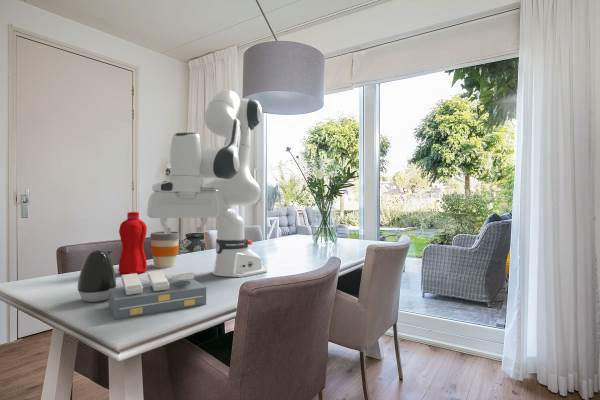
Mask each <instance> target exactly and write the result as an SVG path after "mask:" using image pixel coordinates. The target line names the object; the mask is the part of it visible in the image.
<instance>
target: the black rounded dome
mask: <svg viewBox="0 0 600 400" xmlns="http://www.w3.org/2000/svg"><path fill="white" fill-rule="evenodd" d="M111 254H112V250H111V249H109V250H107V251H104V250H103V249H95V250H93V251H91V252H89V253H88V254H87V256H86V257H85V259H84V262H83V263H82V266H81V268H80V269H81V270H80V273H79V277H78V283H77V292H78V293H79V296H80V298H81V299H82V300H84V301H86V302H88V303H98V302H99V303H100V302H103V301H106V300H109V289H112V288H117V279H116V273H115V272H116V271H115V268H114V264H113V262H112V260H111V258H110V256H109V255H111Z"/></svg>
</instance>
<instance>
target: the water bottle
mask: <svg viewBox="0 0 600 400" xmlns="http://www.w3.org/2000/svg"><path fill="white" fill-rule="evenodd" d="M126 217H127V218H126V219H125V220H124V221H122V222H121V223H120V226H119V230H118V233H119V237H120V242H121V247H122V248H121V253H120V256H119V257H120V258H119V261H118V272H119V274H121V275H126V274H135V273H137V274H143V273H145V272H147V267H148V266H147V265H148V264H147V258H146V253H145V248H144V247H145V246H144V245H145V241H146V237H147V233H148V231H147V230H148V229H147V225H146V223H145V222H144V221H143V220H141V219H140V212H138V211H130V212H127V215H126Z"/></svg>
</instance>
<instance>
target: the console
mask: <svg viewBox="0 0 600 400" xmlns="http://www.w3.org/2000/svg"><path fill="white" fill-rule="evenodd" d="M168 282H169V284H170V286H169V289H167V290H159V291H154V289H153V287H152V285H151V283H146V284H145V283H144V284H142V286H143V293H137V294H130V295H126V292H125V289H124V286H122V287H121V286H120V287H115V288H112V289H109V298H108V308H109V309H110V312H111V314H112V316H113V318H114V320H115V319H116V320H121V319H126V318H132V317H137V316H144V315H149V314H150V315H151V314H157V313H162V312H169V311H175V310H180V309H185V308H191V307H197V306H202V305H207V287H206V286H205V285H204V284H202V283H200V282H199V281H197V280H195V278H193V279H188V280H182V281H174V282H172V280H170V281H169V280H168Z"/></svg>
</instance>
